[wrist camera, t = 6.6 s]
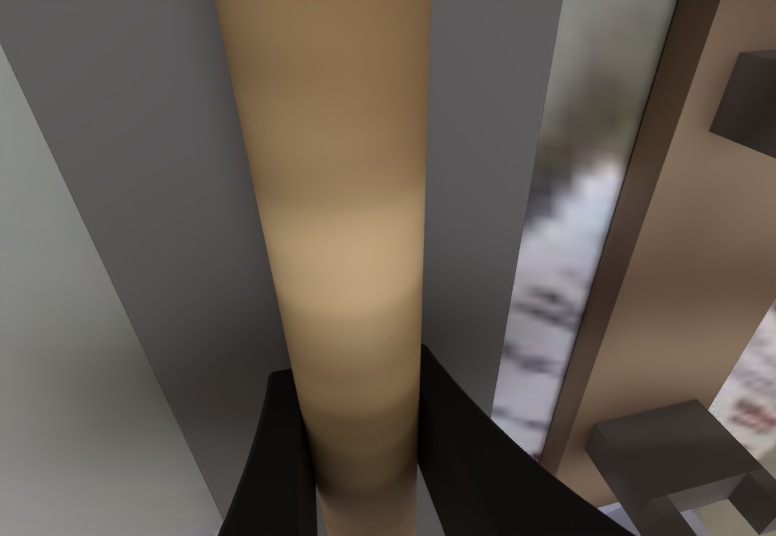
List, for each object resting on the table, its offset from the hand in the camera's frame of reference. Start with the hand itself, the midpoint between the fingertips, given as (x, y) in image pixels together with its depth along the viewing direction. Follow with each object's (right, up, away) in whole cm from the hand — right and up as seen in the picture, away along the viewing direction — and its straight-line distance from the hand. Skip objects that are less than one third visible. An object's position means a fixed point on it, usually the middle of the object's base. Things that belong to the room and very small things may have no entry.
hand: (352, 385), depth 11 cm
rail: (0, 0, 0) cm, 0 cm away
